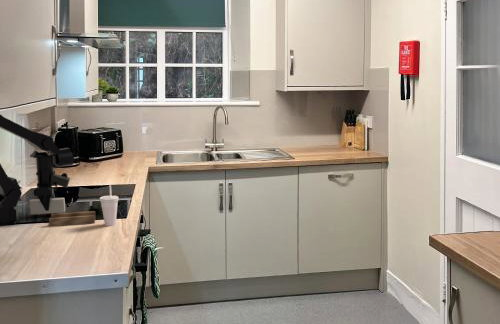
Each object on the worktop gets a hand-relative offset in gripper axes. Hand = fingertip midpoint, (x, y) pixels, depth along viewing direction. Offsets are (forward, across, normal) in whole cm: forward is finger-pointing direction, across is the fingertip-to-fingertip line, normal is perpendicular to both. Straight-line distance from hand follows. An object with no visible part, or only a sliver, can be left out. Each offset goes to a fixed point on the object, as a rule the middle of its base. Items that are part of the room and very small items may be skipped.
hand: (47, 209), depth 201 cm
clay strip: (+1, 0, 0) cm, 1 cm away
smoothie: (+2, -20, -23) cm, 31 cm away
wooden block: (+2, -13, -10) cm, 17 cm away
